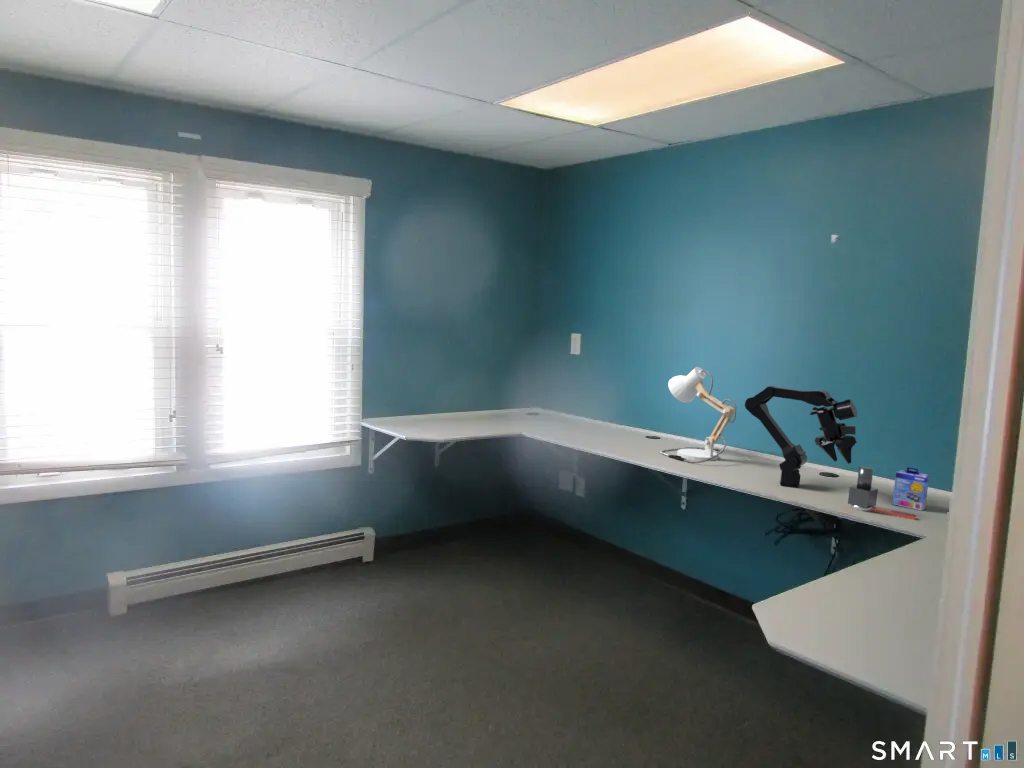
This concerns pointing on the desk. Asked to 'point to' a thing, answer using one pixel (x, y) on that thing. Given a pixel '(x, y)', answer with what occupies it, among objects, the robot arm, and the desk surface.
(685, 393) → the desk lamp
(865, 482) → the grey cylinder on block
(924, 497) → the ink cartridge box
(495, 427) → the desk surface
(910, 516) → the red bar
